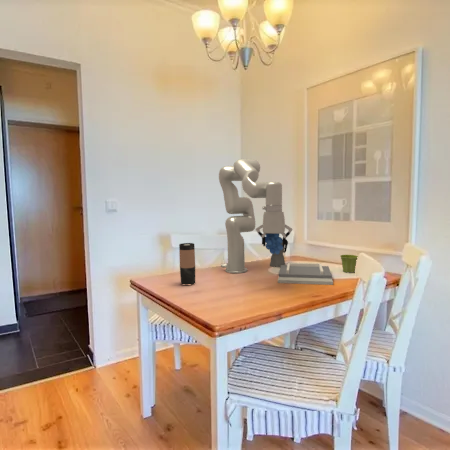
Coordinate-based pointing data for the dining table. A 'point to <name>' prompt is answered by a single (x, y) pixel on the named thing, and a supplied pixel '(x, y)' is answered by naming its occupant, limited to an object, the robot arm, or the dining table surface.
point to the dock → (305, 274)
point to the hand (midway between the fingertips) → (273, 245)
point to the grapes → (273, 243)
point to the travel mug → (187, 263)
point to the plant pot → (348, 262)
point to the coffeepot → (278, 257)
